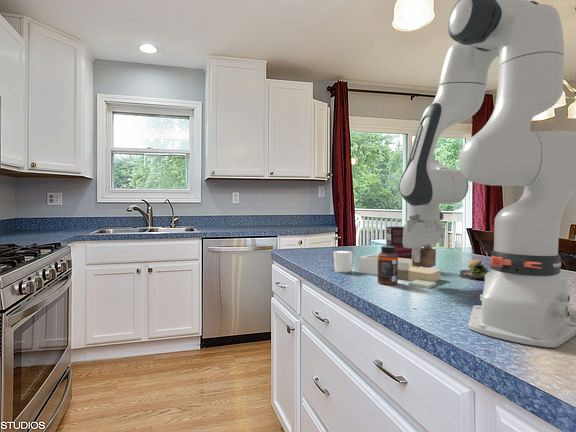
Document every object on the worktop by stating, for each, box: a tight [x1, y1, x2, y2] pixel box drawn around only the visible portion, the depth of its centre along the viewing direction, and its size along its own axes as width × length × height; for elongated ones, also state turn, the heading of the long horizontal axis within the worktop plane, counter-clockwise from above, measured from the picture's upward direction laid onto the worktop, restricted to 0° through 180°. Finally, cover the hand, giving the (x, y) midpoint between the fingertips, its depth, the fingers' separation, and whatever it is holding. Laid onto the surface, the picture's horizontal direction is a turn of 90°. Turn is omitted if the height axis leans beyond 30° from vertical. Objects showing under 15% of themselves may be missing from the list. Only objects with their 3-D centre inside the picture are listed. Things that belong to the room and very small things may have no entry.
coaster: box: [407, 280, 437, 289], centre depth 105 cm, size 6×6×1 cm
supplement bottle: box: [377, 245, 399, 286], centre depth 107 cm, size 6×6×11 cm
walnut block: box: [412, 247, 437, 269], centre depth 105 cm, size 5×5×5 cm
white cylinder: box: [332, 250, 353, 273], centre depth 127 cm, size 7×7×7 cm
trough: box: [358, 254, 442, 283], centre depth 119 cm, size 9×25×6 cm, turn 47°
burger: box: [459, 255, 490, 281], centre depth 117 cm, size 12×12×8 cm
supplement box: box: [385, 226, 413, 259], centre depth 133 cm, size 9×5×16 cm, turn 99°
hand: (421, 260), depth 105 cm, fingers closed on walnut block, 5 cm apart
